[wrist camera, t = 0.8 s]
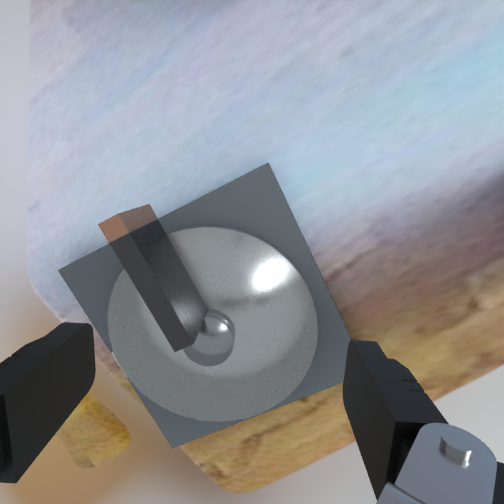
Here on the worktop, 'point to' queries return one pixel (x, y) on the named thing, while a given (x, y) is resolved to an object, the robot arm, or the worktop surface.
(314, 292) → the plinth
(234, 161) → the worktop surface
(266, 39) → the worktop surface
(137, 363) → the rotary knob
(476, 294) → the worktop surface
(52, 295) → the worktop surface
